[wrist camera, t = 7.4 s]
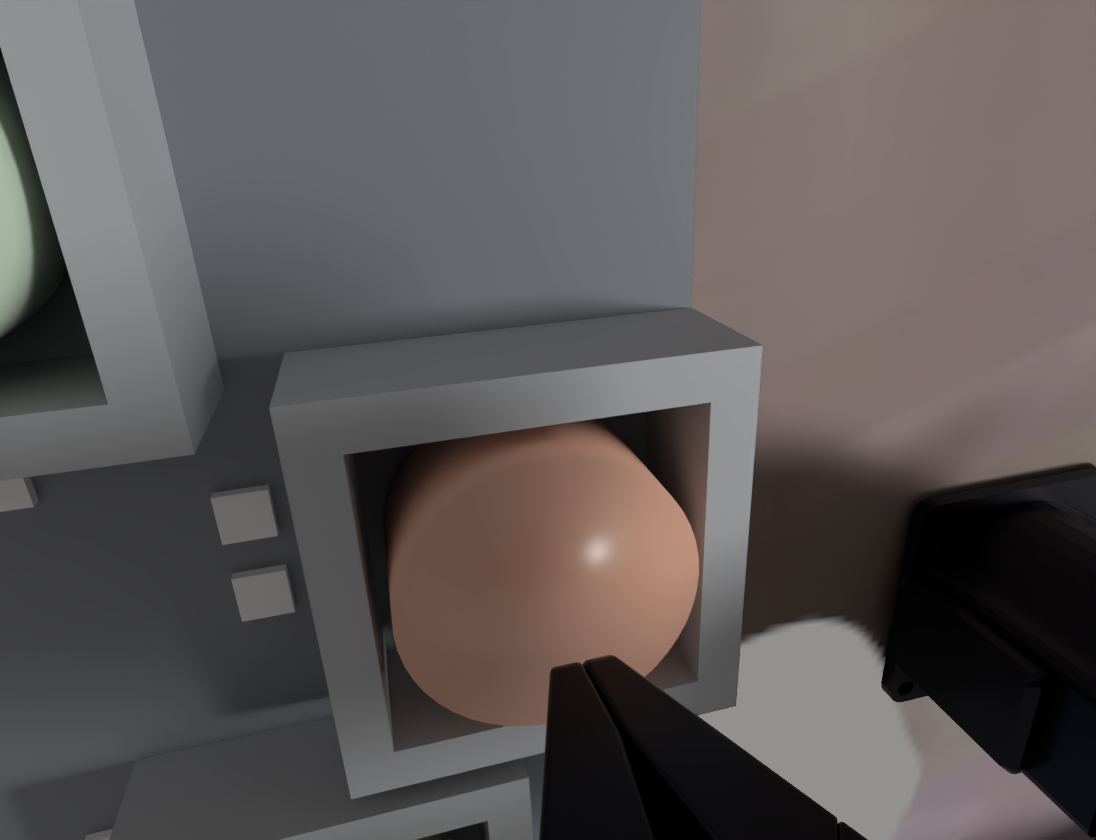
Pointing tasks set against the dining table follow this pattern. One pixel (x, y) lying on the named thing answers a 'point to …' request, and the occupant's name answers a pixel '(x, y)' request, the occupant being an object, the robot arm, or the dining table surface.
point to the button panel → (329, 388)
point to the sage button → (23, 222)
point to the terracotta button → (531, 565)
